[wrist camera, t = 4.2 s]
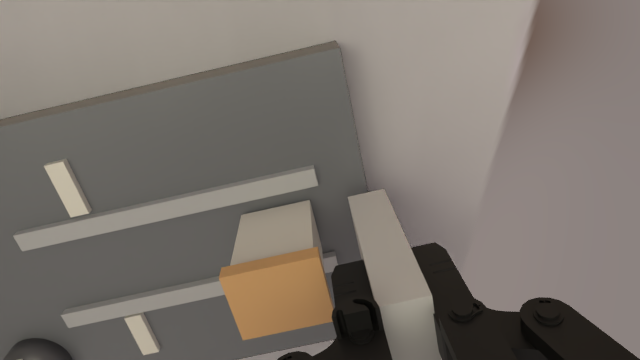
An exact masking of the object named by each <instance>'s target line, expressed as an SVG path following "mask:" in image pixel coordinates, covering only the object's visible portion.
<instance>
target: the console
mask: <svg viewBox="0 0 640 360" xmlns="http://www.w3.org/2000/svg"><path fill="white" fill-rule="evenodd" d="M367 192H368V190H367V185H366V180H365V175H364V170H363V165H362V159H361V154H360V149H359V144H358V139H357V133H356V128H355V123H354V118H353V113H352V108H351V102H350V97H349V92H348V87H347V82H346V77H345V71H344V66H343V61H342V56H341V51H340V47H339V46H338V44H337V43H336V41H333V42H328V43H324V44H320V45H316V46H311V47H307V48H303V49H299V50H294V51H290V52H286V53H282V54H277V55H273V56H269V57H265V58H260V59H256V60H252V61H248V62H243V63H239V64H235V65H231V66H226V67H222V68H218V69H214V70H209V71H205V72H201V73H197V74H192V75H188V76H184V77H179V78H175V79H171V80H167V81H162V82H158V83H154V84H150V85H145V86H141V87H137V88H133V89H128V90H124V91H120V92H116V93H111V94H107V95H103V96H99V97H94V98H90V99H86V100H82V101H77V102H73V103H69V104H65V105H60V106H56V107H52V108H48V109H43V110H39V111H35V112H31V113H26V114H22V115H18V116H14V117H9V118H5V119H1V120H0V360H237V359H242V358H247V357H251V356H256V355H261V354H266V353H271V352H276V351H280V350H285V349H290V348H295V347H300V346H304V345H309V344H314V343H319V342H324V341H329V340H333V339H336V337H337V335H336V332H335V328H334V325H333V322H329V323H324V324H319V325H315V326H310V327H305V328H300V329H295V330H291V331H286V332H281V333H276V334H272V335H267V336H262V337H257V338H252V339H248V340H243V339H242V337H241V334H240V332H239V329H238V327H237V324H236V321H235V319H234V316H233V314H232V311H231V309H230V306H229V303H228V301H227V298H226V296H225V293H224V291H223V288H222V285H221V283H220V280H219V275H220V271H221V268H222V267H226V266H230V263H231V259H232V254H233V250H234V245H235V241H236V236H237V232H238V228H239V223H240V219H241V215H243V214H248V213H252V212H257V211H261V210H266V209H270V208H275V207H279V206H284V205H288V204H293V203H297V202H302V201H306V200H310V203H311V207H312V211H313V215H314V218H315V222H316V226H317V230H318V234H319V238H320V242H321V246H322V254H323V263H324V271H325V275H326V279H327V283H328V287H329V290H330V294H331V298H332V302H333V306H334V308H335V302H334V294H333V287H332V280H331V275H332V273H333V270H334V268H335V266H336V265H341V264H345V263H350V262H354V261H359V260H362V258H361V255H360V250H359V246H358V241H357V237H356V232H355V228H354V223H353V219H352V214H351V210H350V205H349V201H348V197H349V196H354V195H358V194H363V193H367Z"/></svg>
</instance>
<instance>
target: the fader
mask: <svg viewBox="0 0 640 360" xmlns="http://www.w3.org/2000/svg"><path fill="white" fill-rule="evenodd" d="M219 280H220V283H221V285H222V288H223V291H224V293H225V296H226V298H227V301H228V303H229V306H230V309H231V311H232V314H233V316H234V319H235V321H236V324H237V327H238V329H239V332H240V334H241V337H242V339H243V340H248V339H252V338H257V337H262V336H267V335H272V334H276V333H281V332H286V331H291V330H295V329H300V328H305V327H310V326H315V325H319V324H324V323H329V322H333V321H332V311H333V309H334V306H333V302H332V298H331V294H330V290H329V287H328V283H327V279H326V275H325V271H324V263H323V254H322V246H321V242H320V238H319V234H318V230H317V226H316V222H315V218H314V215H313V211H312V207H311V203H310V200H306V201H302V202H297V203H293V204H288V205H284V206H279V207H275V208H270V209H266V210H261V211H257V212H252V213H248V214H243V215H241V219H240V223H239V228H238V232H237V236H236V241H235V245H234V250H233V254H232V259H231V263H230V266H226V267H222V268H221V271H220V275H219Z"/></svg>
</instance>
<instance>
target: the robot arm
mask: <svg viewBox="0 0 640 360" xmlns="http://www.w3.org/2000/svg"><path fill="white" fill-rule="evenodd" d="M348 201H349V205H350V210H351V214H352V219H353V223H354V228H355V232H356V237H357V241H358V246H359V250H360V255H361V258H362V260H359V261H354V262H350V263H345V264H341V265H336V266H335V268H334V270H333V273H332V275H331V280H332V287H333V294H334V302H335V308H334V309H333V311H332V321H333V325H334V328H335V332H336V335H337V337H336V339H335V340H334V342H333V343H332V344H331V345H330V346H329V347H328V348H327V349H325V350H324V351H322V352H320V353H319V354H317V355H315V356H313V357H312V356H311V355H309V354H308V353H306V352H299V351H296V352H291V353H287V354H285V355H283V356H281V357H280V358H279V359H277V360H441V358H442V360H640V359H639V358H637V357H636V356H635V355H633V354H632V353H631V352H629V351H628V350H627V349H625V348H624V347H623V346H621V345H620V344H619V343H617V342H616V341H615V340H614V339H612V338H611V337H610V336H608V335H607V334H606V333H604V332H603V331H602V330H600V329H599V328H598V327H596V326H595V325H594V324H593V323H591V322H590V321H589V320H587V319H586V318H585V317H583V316H582V315H581V314H579V313H578V312H577V311H575V310H574V309H573V308H572V307H570V306H569V305H567V304H565V303H563V302H562V301H559V300H555V299H551V298H535V299H531V300H528V301H527V302H526V303H524V304H523V305H522V307H521V309H520V312H505V311H496V310H491V309H489V308H486V307H485V306H484V305H483V303H482V302H480V301H478V300H476V299H474V297H473V296H472V294H471V293H470V291H469V289H468V287H467V286H466V284H465V282H464V280H463V279H462V277H461V275H460V273H459V272H458V270H457V269H456V266H455V265H454V263H453V261H452V260H451V258H450V256H449V254H448V253H447V251H446V249H444V248H443V247H441V246H440V245H438V244H436V243H431V244H426V245H422V246H417V247H413V248H411V247H410V245H409V243H408V241H407V238H406V236H405V234H404V232H403V230H402V227H401V225H400V223H399V221H398V218H397V216H396V214H395V212H394V210H393V207H392V205H391V203H390V201H389V198H388V196H387V194H386V192H385V189H380V190H376V191H371V192H367V193H363V194H358V195H354V196H349V197H348Z"/></svg>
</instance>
